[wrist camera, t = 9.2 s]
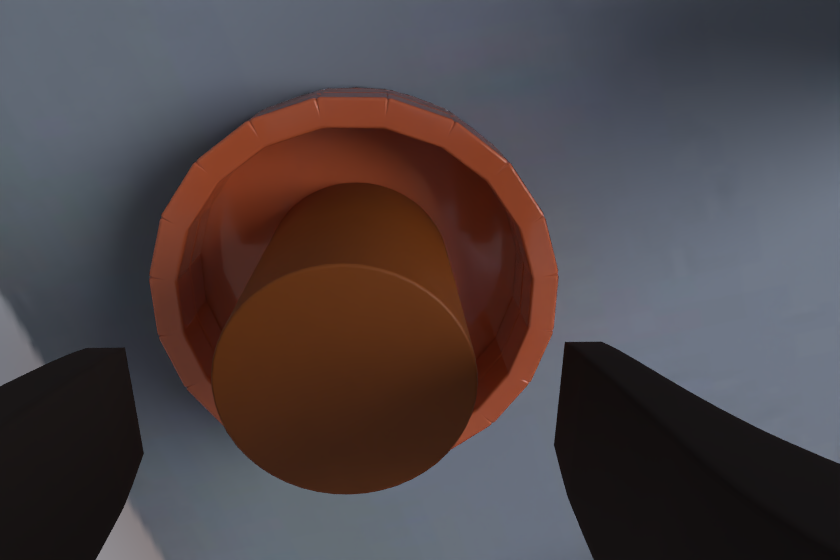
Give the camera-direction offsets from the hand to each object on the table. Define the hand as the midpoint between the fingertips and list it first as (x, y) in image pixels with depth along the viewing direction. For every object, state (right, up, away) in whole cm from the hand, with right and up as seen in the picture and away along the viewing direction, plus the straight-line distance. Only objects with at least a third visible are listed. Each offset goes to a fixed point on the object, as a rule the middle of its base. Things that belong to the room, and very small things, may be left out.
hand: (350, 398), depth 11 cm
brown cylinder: (0, +2, +5) cm, 6 cm away
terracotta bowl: (0, +2, +5) cm, 6 cm away
